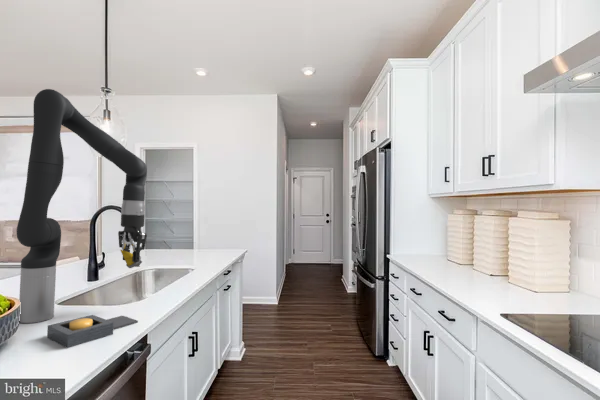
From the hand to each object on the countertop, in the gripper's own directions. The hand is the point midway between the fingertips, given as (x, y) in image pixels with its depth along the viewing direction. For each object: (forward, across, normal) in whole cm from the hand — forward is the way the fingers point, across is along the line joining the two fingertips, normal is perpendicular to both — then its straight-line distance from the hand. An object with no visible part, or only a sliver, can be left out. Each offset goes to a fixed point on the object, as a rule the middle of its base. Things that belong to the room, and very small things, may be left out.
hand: (130, 260), depth 119 cm
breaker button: (+17, +9, -20) cm, 27 cm away
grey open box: (+18, +9, -20) cm, 29 cm away
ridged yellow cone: (+3, 0, 0) cm, 3 cm away
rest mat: (+18, +7, -8) cm, 21 cm away
